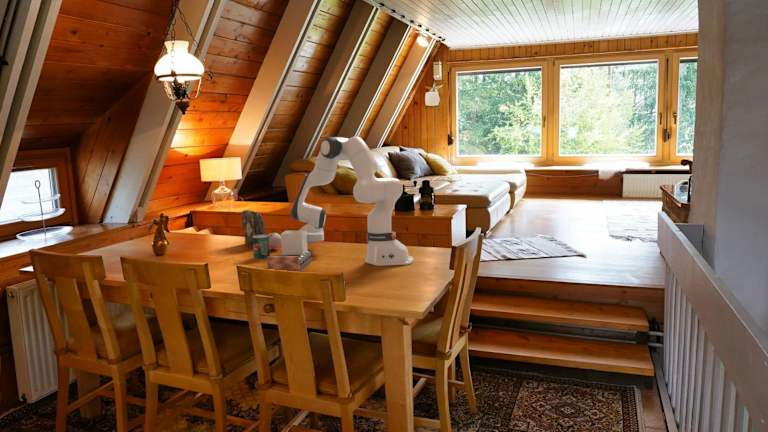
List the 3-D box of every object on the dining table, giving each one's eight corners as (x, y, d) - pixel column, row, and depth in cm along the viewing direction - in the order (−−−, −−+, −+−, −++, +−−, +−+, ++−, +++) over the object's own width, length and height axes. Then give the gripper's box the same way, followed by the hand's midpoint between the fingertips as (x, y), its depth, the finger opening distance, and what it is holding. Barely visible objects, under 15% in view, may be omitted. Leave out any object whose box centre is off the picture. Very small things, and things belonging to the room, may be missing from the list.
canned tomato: (273, 256, 290) (272, 235, 288) (263, 260, 283) (262, 238, 281) (260, 255, 293) (259, 234, 292) (250, 259, 286) (249, 237, 285)
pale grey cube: (307, 251, 278) (306, 230, 276) (302, 254, 270) (301, 233, 269) (287, 251, 279) (286, 230, 278) (282, 254, 271) (280, 233, 270)
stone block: (270, 246, 316) (268, 209, 313) (257, 249, 309) (254, 212, 306) (251, 242, 328) (248, 207, 325) (237, 245, 321) (234, 209, 318)
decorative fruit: (279, 251, 302) (278, 232, 300) (264, 251, 302) (262, 232, 301) (284, 247, 311) (283, 229, 309) (269, 247, 312) (268, 229, 310)
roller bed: (313, 259, 280) (312, 245, 279) (297, 273, 255) (297, 258, 254) (285, 259, 282) (284, 245, 281) (267, 273, 257) (266, 257, 256)
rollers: (310, 257, 280) (310, 251, 279) (298, 267, 259) (298, 261, 259) (286, 257, 281) (286, 250, 281) (272, 267, 261) (271, 261, 260)
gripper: (286, 228, 296) (278, 233, 283) (326, 228, 294) (319, 233, 280) (287, 240, 297) (279, 246, 284) (326, 240, 295) (320, 246, 281)
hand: (299, 239), depth 282 cm, fingers closed
